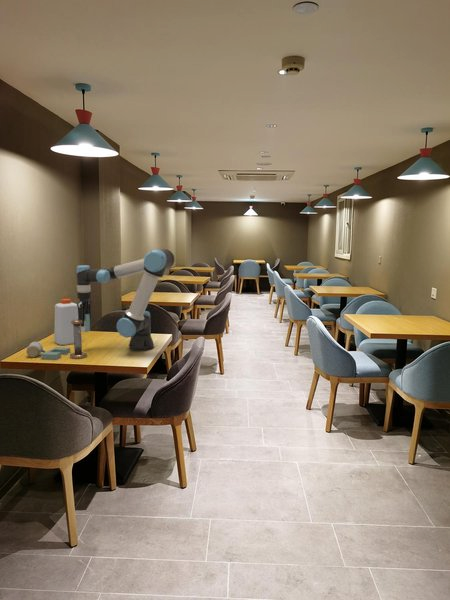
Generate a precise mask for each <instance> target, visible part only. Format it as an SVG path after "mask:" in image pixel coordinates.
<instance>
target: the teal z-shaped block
mask: <svg viewBox="0 0 450 600" xmlns="http://www.w3.org/2000/svg"><path fill="white" fill-rule="evenodd" d="M42 353H43V352H42ZM68 354H69V355H70V354H72V352H71V347H63V346H62V347H61V346H59V347H58V346H55V347H53V348H51V349H49V350H46V352H45V353H43V354H41V355H40V356H41V360H45V361H46V360H47V361H48V360H49V361H51V360H52V361H57V360H59V359H61V358H62V356H63V355H64V356H67V355H68Z"/></svg>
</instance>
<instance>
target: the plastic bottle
mask: <svg viewBox="0 0 450 600" xmlns="http://www.w3.org/2000/svg"><path fill="white" fill-rule="evenodd" d="M77 304H78V303H75V302H72V299H70V298H62V299H60V303H56V304H55V305H54V327H53V328H54V330H53V331H54V334H53V335H54V336H53V341H54V342H55V343H56V344H57V345H58V346H59V345H60V346H69V345H74V331H73V324H71V320H78V307H77ZM82 337H83V336H81V342H82V340H83V339H82Z"/></svg>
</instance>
